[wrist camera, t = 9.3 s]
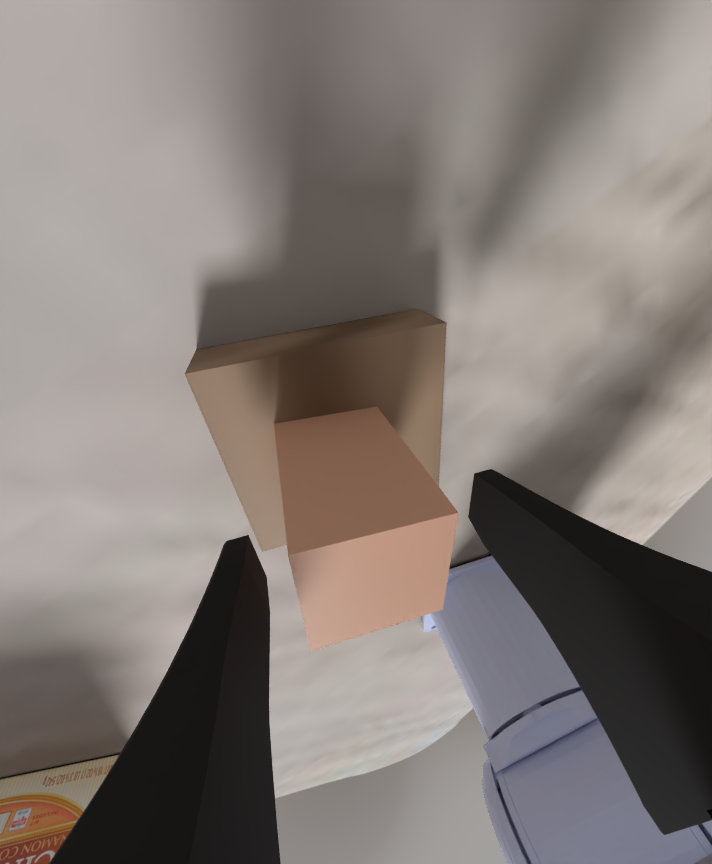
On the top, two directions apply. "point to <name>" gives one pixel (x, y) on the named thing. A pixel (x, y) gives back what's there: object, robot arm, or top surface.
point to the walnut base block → (318, 396)
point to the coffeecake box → (45, 808)
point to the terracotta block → (361, 525)
